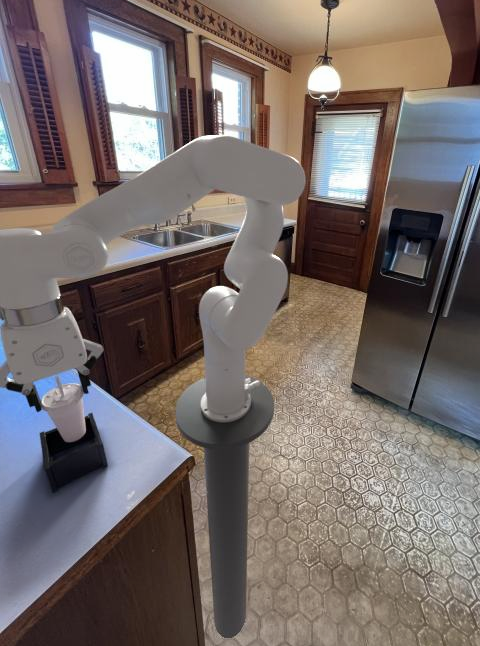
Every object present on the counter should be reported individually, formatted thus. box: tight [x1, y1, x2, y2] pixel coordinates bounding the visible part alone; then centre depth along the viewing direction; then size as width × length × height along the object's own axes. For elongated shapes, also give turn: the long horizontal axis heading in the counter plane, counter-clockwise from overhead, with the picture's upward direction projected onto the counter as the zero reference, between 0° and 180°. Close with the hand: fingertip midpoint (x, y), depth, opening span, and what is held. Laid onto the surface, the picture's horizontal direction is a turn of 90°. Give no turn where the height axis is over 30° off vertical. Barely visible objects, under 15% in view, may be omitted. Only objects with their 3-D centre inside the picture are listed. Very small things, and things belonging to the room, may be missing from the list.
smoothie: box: [40, 375, 86, 442], centre depth 57 cm, size 6×6×14 cm
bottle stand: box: [39, 412, 109, 494], centre depth 60 cm, size 9×10×6 cm
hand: (62, 397), depth 56 cm, fingers closed on smoothie, 6 cm apart
